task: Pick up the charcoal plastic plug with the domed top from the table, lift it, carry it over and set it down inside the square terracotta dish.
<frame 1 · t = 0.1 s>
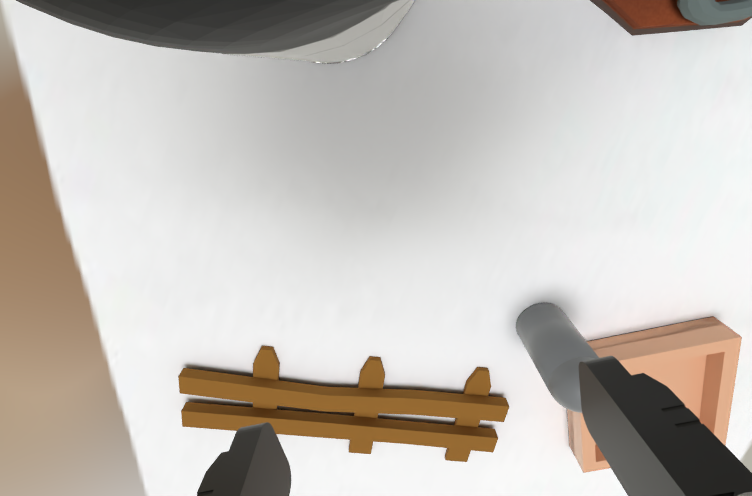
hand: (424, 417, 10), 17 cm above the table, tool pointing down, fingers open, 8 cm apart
plug: (540, 323, 30), on the table
dish: (635, 386, 33), on the table
decorative fence: (346, 396, 34), on the table
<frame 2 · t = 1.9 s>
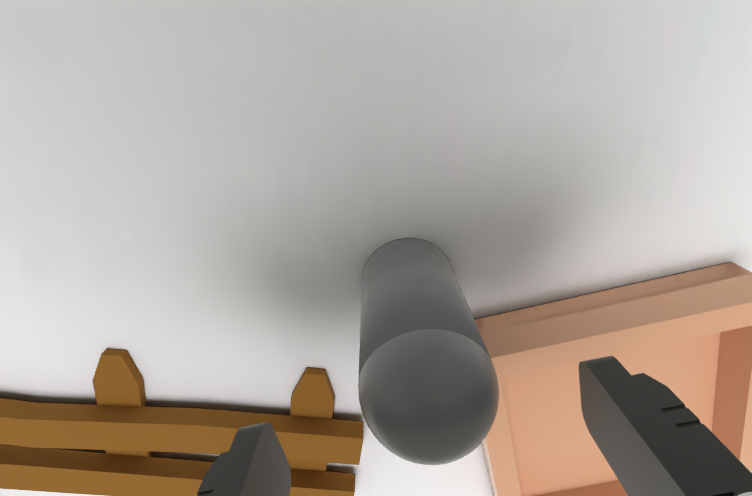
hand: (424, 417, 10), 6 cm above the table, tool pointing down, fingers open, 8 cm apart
plug: (407, 280, 16), on the table
dish: (595, 395, 19), on the table
decorative fence: (101, 418, 20), on the table
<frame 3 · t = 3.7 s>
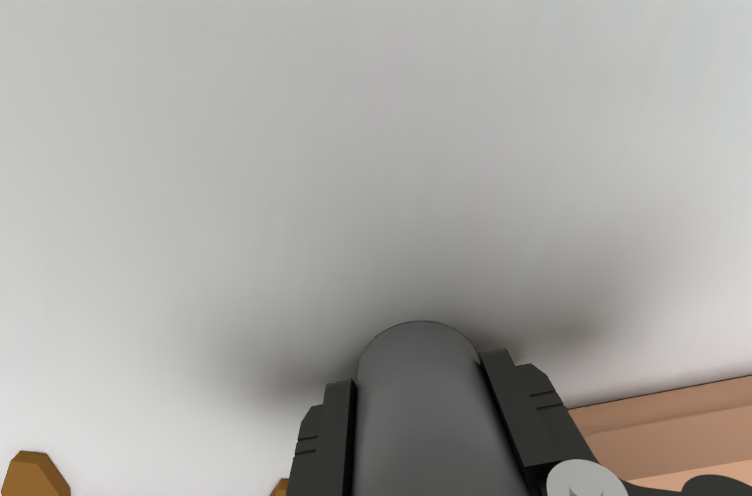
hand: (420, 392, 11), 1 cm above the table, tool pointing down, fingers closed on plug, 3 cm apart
plug: (418, 373, 12), on the table, touching gripper
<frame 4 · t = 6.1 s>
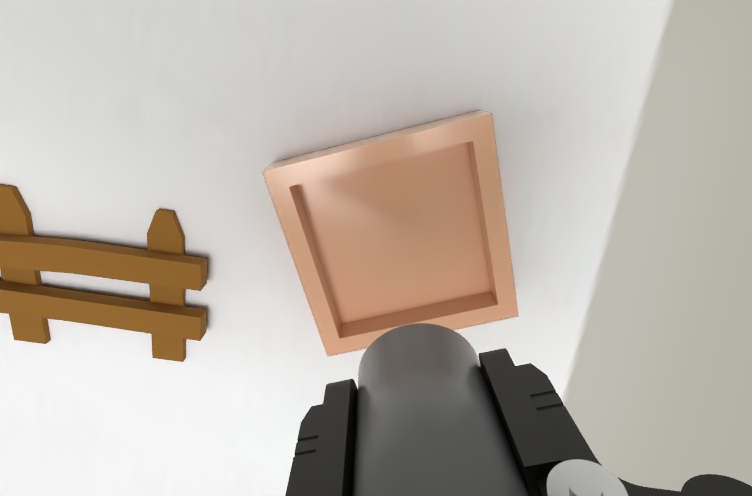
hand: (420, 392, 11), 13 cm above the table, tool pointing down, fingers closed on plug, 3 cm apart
plug: (419, 375, 12), point 12 cm above the table, touching gripper
dish: (397, 232, 23), on the table
decorative fence: (3, 257, 25), on the table
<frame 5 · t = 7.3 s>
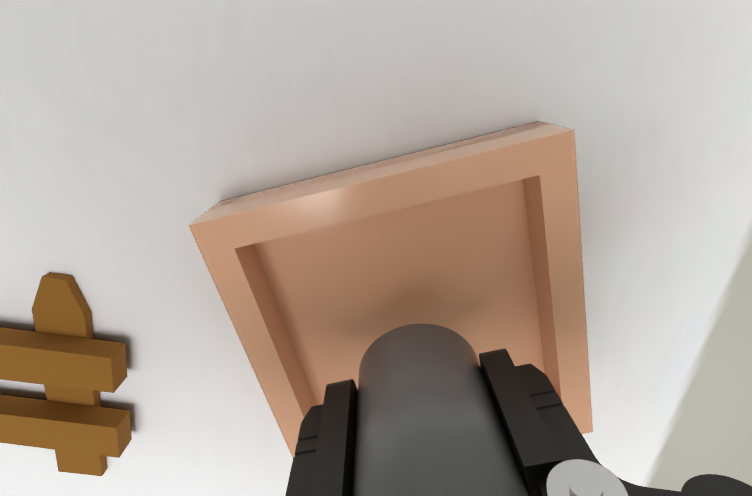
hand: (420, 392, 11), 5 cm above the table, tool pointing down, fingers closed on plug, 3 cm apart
plug: (419, 375, 12), point 4 cm above the table, touching gripper
dish: (408, 302, 16), on the table
when the fingers open (3 cm above the table, at t = 8.5 s): plug stays where it is, resting on dish.
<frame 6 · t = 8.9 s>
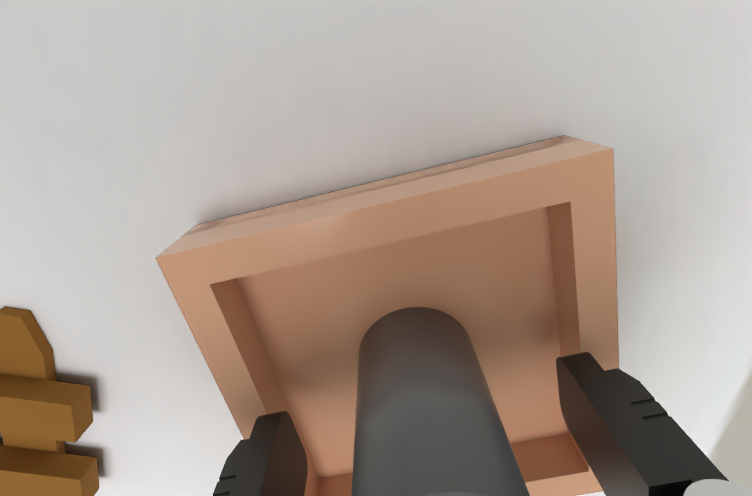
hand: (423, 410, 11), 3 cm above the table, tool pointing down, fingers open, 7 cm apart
plug: (415, 356, 13), point 1 cm above the table, touching dish
dish: (412, 337, 14), on the table
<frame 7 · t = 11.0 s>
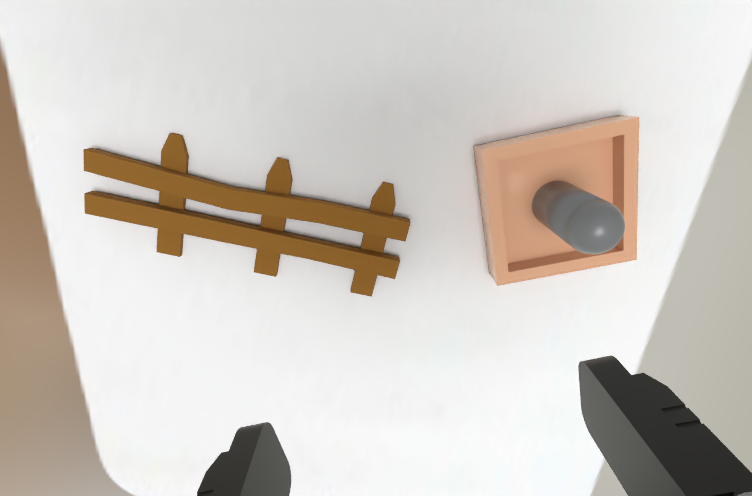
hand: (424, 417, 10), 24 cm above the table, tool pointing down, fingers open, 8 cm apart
plug: (554, 203, 32), point 1 cm above the table, touching dish
dish: (549, 199, 33), on the table
decorative fence: (255, 211, 34), on the table
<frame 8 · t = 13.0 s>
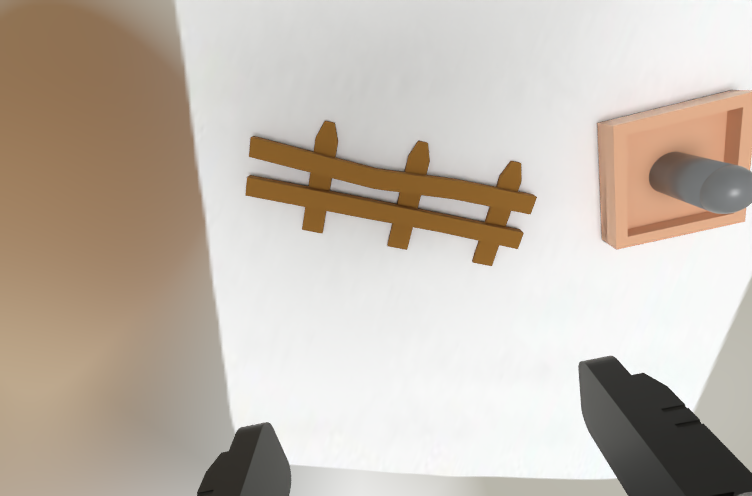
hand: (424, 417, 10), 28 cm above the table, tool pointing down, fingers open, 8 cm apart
plug: (670, 172, 35), point 1 cm above the table, touching dish
dish: (662, 169, 36), on the table
decorative fence: (390, 190, 38), on the table
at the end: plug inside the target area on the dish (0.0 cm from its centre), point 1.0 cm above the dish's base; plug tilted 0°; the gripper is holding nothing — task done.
